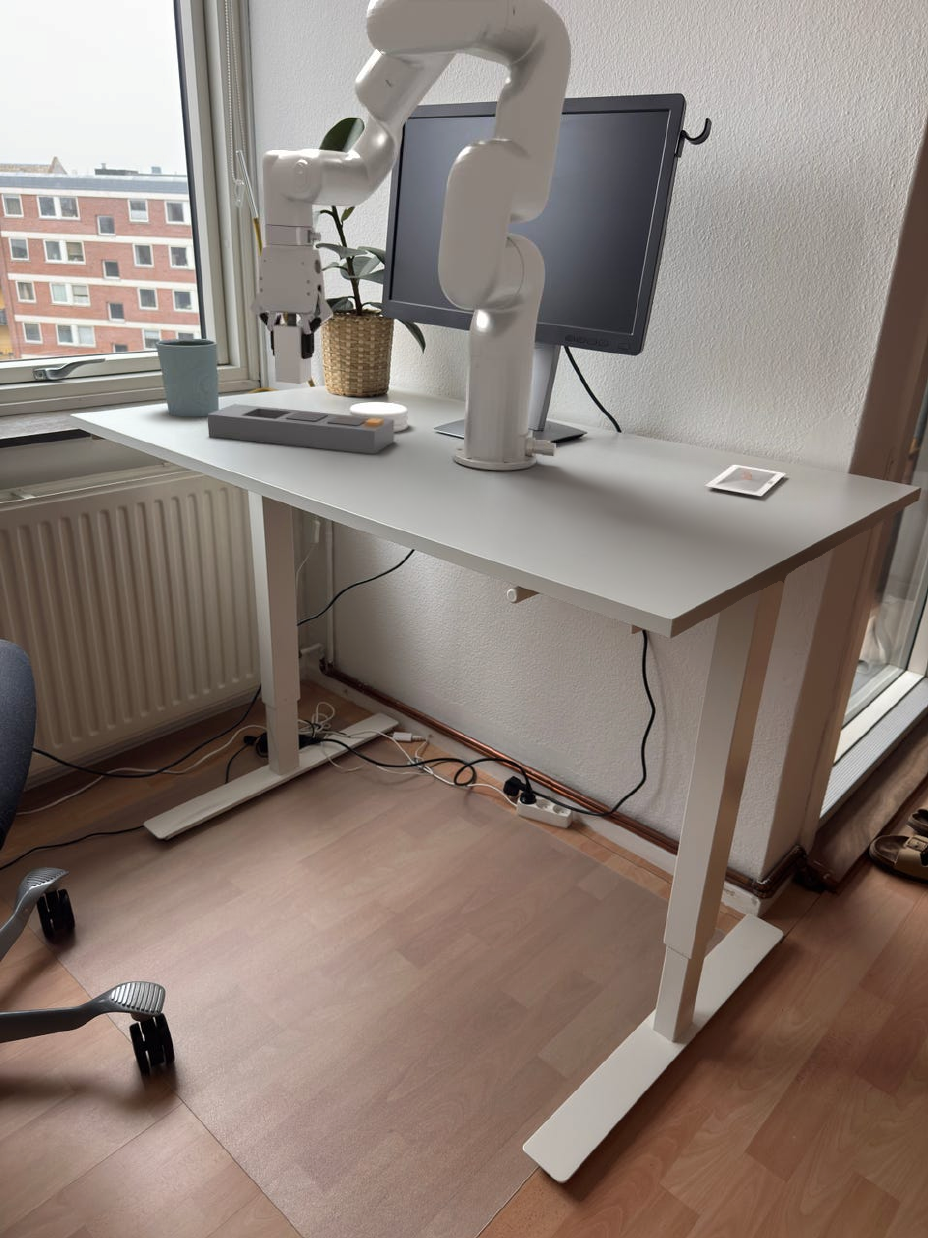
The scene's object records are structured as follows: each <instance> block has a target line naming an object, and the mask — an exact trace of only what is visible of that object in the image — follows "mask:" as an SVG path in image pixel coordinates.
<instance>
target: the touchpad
mask: <svg viewBox="0 0 928 1238" xmlns="http://www.w3.org/2000/svg"><path fill="white" fill-rule="evenodd" d="M785 475H786V472H781V471H776V470H768V469H764V468H763V469H762V468H757V467H752V466H751V467H750V466H745V465H738V464H732V465H731V466H730V467H728V468H726V470H724V471H723V472H722V473H721V474H719V475H717V476H716V477H715V478H714V479H712V480H711V481H709V482H707V484H705V485H704V487H709V488H714V489H717V490H718V489H719V490H723V491H730V492H735V493H741V494H745V495H752V496H756V497H762V496H763V495H764V494H766V492H768V491H769V490H770V489H771V488H772V487H773V486H774V485H775V484H776V483H777V482H778V481H780V480H781V478H783V477H784V476H785Z"/></svg>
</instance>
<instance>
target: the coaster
mask: <svg viewBox="0 0 928 1238" xmlns="http://www.w3.org/2000/svg"><path fill="white" fill-rule="evenodd" d="M408 412H409V410H408V409H407V407H405V406H404V405H401V404H399V403H398V404H397V403H391V402H382V401H381V402H377V401H375V402H374V401H373V402H361V403H356V404H353V405H351V406H350V408H349V414H350V415H351V416H361V417H371V418H381V419H391V420H394V433H399V432H401V431H402V432H403V431H404V430H407V428H408V419H409V418H408Z"/></svg>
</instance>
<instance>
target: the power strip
mask: <svg viewBox="0 0 928 1238" xmlns="http://www.w3.org/2000/svg"><path fill="white" fill-rule="evenodd" d="M206 418H207V429H208V437H213V438H222V439H223V438H224V439H232V440H240V441H241V440H242V441H248V442H249V441H250V442H259V443H260V442H261V443H267V444H280V445H287V446H296V447H304V448H305V447H306V448H307V447H308V448H316V449H324V450H334V451H343V452H354V453H362V454H370V455H371V454H372V455H373V454H374V455H375V454H377V453H378V452H380V451H382V450H383V449H384V448H386V447H388V446H389V445H390V444H392V443H394V441H395V439H394V438H395V436H394V435H395V434H394V433H395V432H394V420H391V419H381V418H371V417H361V416H351V415H349V414H339V413H329V412H321V411H320V412H318V411H308V410H296V409H289V408H288V409H287V408H277V407H267V406H256V405H247V404H236V403H234V404H231V405H229V406H225V407H223V408H221V409H220V408H219V410H217V411H215V412H212V413H209V414H207V417H206Z"/></svg>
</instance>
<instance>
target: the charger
mask: <svg viewBox="0 0 928 1238" xmlns="http://www.w3.org/2000/svg"><path fill="white" fill-rule="evenodd" d="M297 316H298V314H290V313H286V322H284V323H281V324H279V325H274V326H273V328H274V354H275V356H274V370H275V371H274V372H275V373H274V375H275V382H276V383H284V384H285V383H286V384H295V385H301V384H305V383H307V382H310V381H312V357H311V358H308V359H302V354H301V334H303V326H302V323H301V324H300V323H299V324H298V321H297V319H298V317H297Z"/></svg>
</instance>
